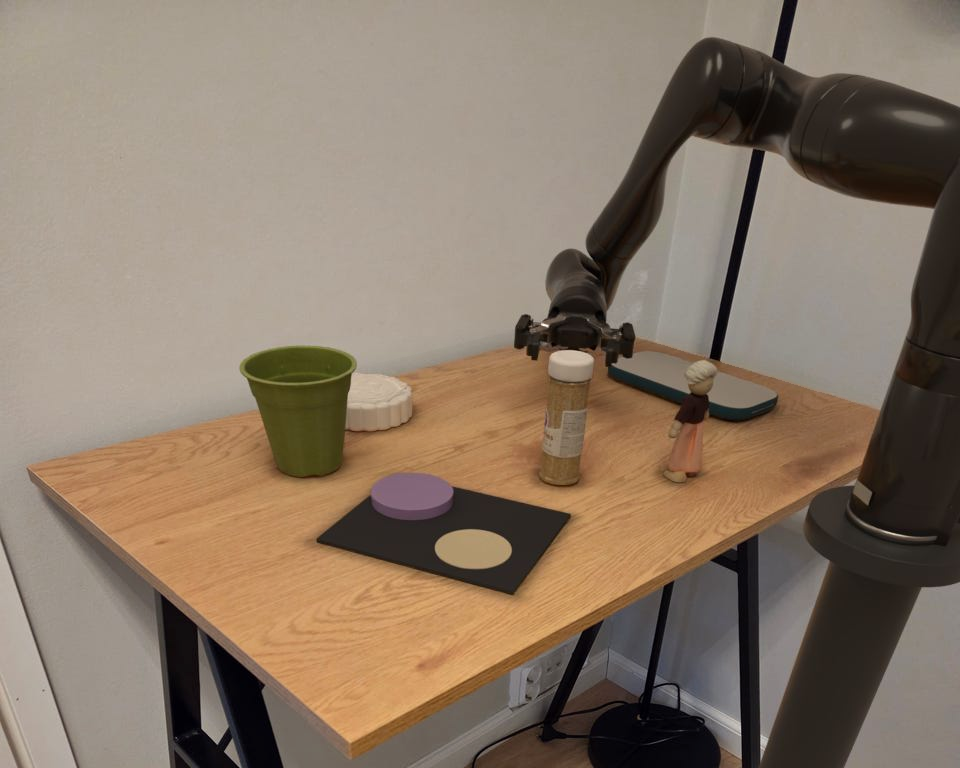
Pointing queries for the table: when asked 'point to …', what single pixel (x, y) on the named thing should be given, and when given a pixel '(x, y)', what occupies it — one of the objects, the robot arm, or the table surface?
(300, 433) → the plant pot
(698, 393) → the grandmother figurine
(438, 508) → the lilac disc
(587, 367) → the spice jar
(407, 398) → the mooncake
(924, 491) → the robot arm
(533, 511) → the table mat
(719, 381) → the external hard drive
